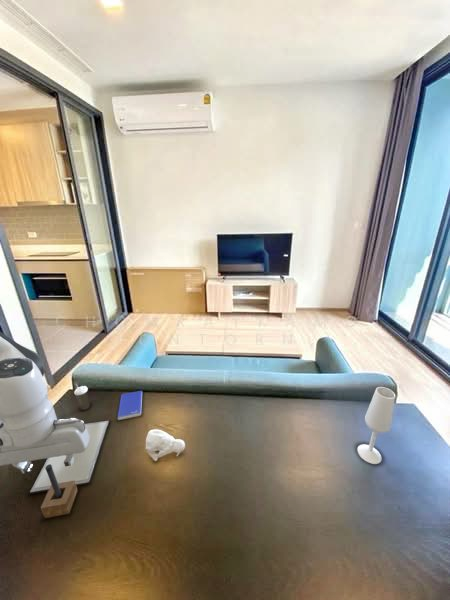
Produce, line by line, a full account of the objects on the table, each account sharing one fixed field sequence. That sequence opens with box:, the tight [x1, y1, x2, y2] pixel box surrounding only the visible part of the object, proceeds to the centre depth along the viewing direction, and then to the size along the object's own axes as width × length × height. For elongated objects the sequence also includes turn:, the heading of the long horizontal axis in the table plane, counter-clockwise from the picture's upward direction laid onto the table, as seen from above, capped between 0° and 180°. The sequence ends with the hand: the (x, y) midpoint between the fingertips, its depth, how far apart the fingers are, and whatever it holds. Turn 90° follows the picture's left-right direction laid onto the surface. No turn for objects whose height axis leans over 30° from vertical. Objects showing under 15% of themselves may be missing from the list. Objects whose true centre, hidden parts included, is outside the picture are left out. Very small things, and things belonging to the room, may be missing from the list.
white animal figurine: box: [145, 428, 186, 462], centre depth 78 cm, size 6×8×12 cm
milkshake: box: [73, 382, 91, 411], centre depth 97 cm, size 5×5×10 cm
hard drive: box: [117, 390, 143, 421], centre depth 98 cm, size 2×8×12 cm
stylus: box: [45, 464, 62, 499], centre depth 64 cm, size 1×1×14 cm
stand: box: [40, 480, 79, 519], centre depth 65 cm, size 6×6×4 cm
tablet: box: [29, 420, 110, 495], centre depth 80 cm, size 15×22×1 cm
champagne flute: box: [356, 386, 396, 465], centre depth 74 cm, size 7×7×24 cm
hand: (49, 466), depth 61 cm, fingers open, 8 cm apart
